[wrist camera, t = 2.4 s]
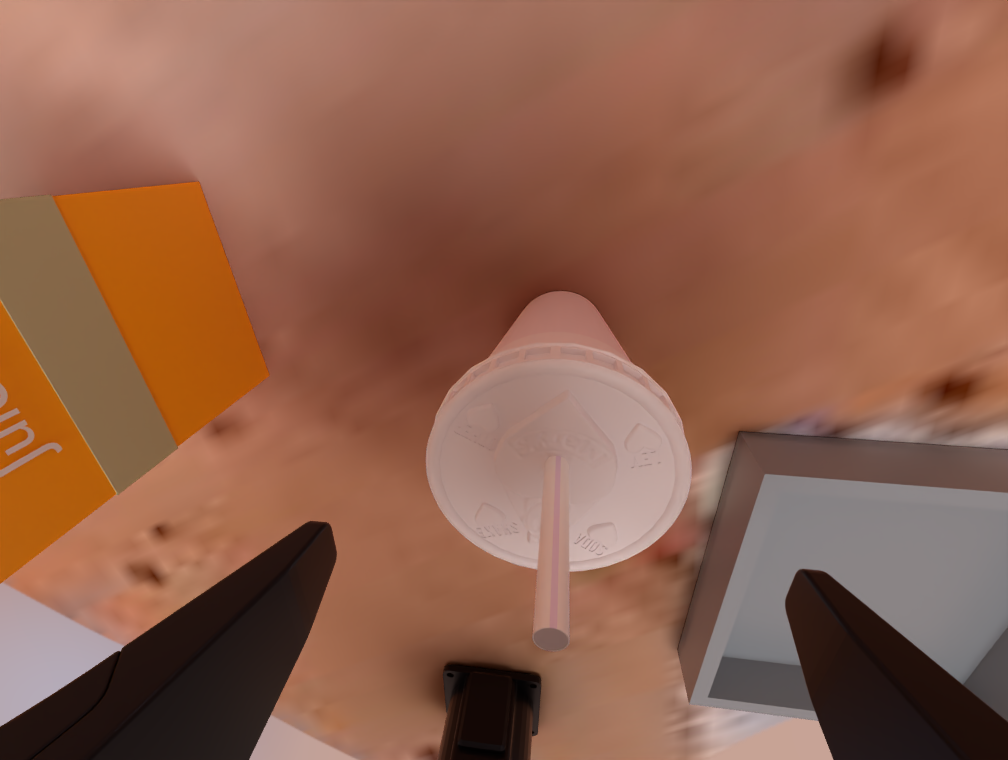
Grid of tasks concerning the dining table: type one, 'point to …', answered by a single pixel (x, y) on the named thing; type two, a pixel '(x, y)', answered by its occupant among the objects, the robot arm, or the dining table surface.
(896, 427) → the dining table surface
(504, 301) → the dining table surface
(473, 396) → the smoothie
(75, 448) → the orange juice
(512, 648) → the dining table surface
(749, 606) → the gray square tray
